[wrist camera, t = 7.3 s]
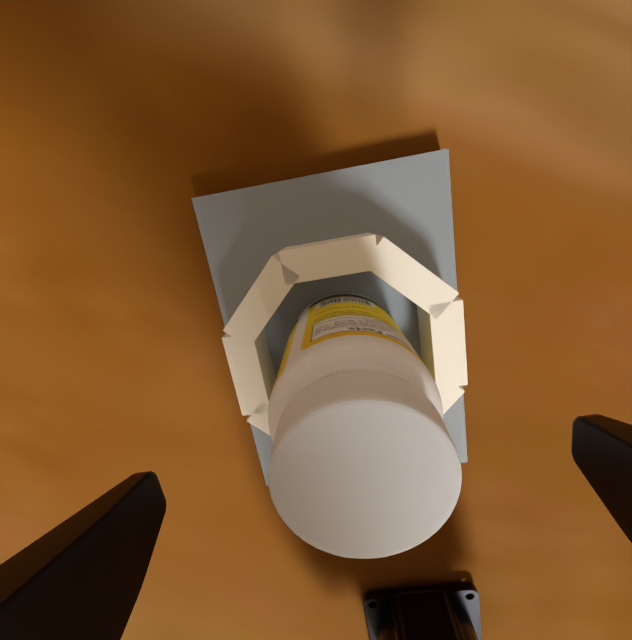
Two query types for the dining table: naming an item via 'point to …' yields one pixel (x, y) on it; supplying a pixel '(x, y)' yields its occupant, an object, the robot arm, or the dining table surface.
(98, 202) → the dining table surface
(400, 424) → the supplement bottle
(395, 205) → the holder board
